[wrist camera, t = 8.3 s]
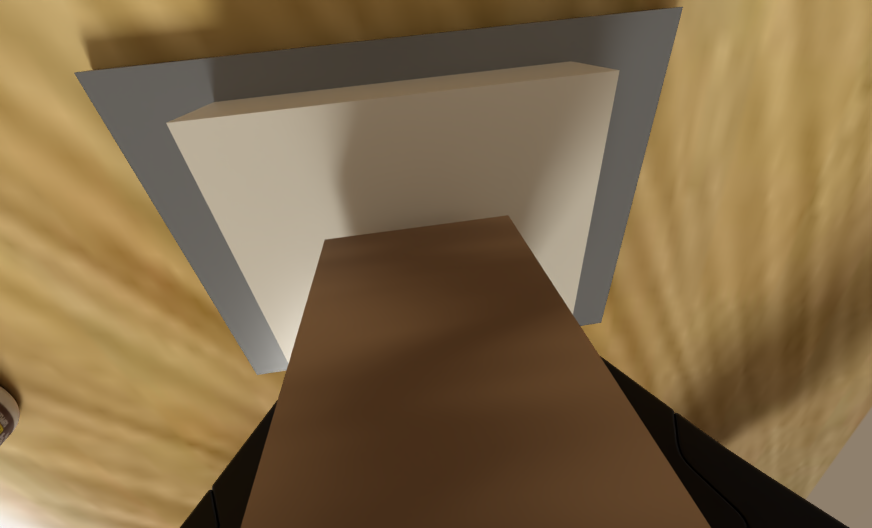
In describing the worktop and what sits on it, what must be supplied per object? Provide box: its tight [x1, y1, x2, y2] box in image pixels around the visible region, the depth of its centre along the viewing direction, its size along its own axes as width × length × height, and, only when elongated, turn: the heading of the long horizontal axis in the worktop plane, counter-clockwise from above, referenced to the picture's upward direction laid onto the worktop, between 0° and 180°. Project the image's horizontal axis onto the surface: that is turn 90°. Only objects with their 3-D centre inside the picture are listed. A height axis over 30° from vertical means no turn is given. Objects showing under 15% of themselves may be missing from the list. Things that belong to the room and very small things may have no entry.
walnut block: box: [241, 215, 711, 528], centre depth 7 cm, size 4×4×7 cm
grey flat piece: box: [75, 7, 683, 375], centre depth 12 cm, size 16×12×3 cm
